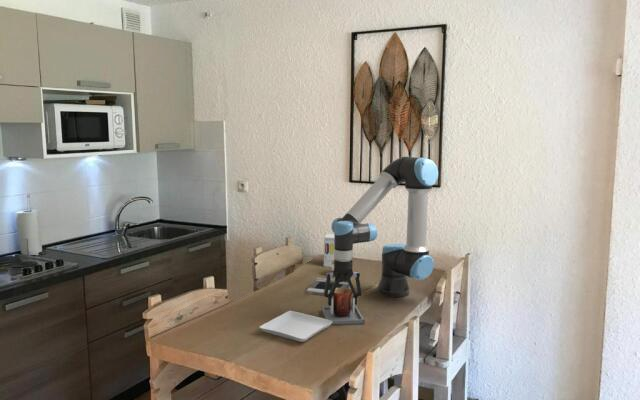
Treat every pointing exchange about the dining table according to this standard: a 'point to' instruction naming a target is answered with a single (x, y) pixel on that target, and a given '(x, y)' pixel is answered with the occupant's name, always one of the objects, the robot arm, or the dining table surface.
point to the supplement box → (328, 250)
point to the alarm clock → (320, 284)
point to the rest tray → (347, 320)
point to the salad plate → (295, 326)
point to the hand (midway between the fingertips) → (342, 312)
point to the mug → (342, 302)
